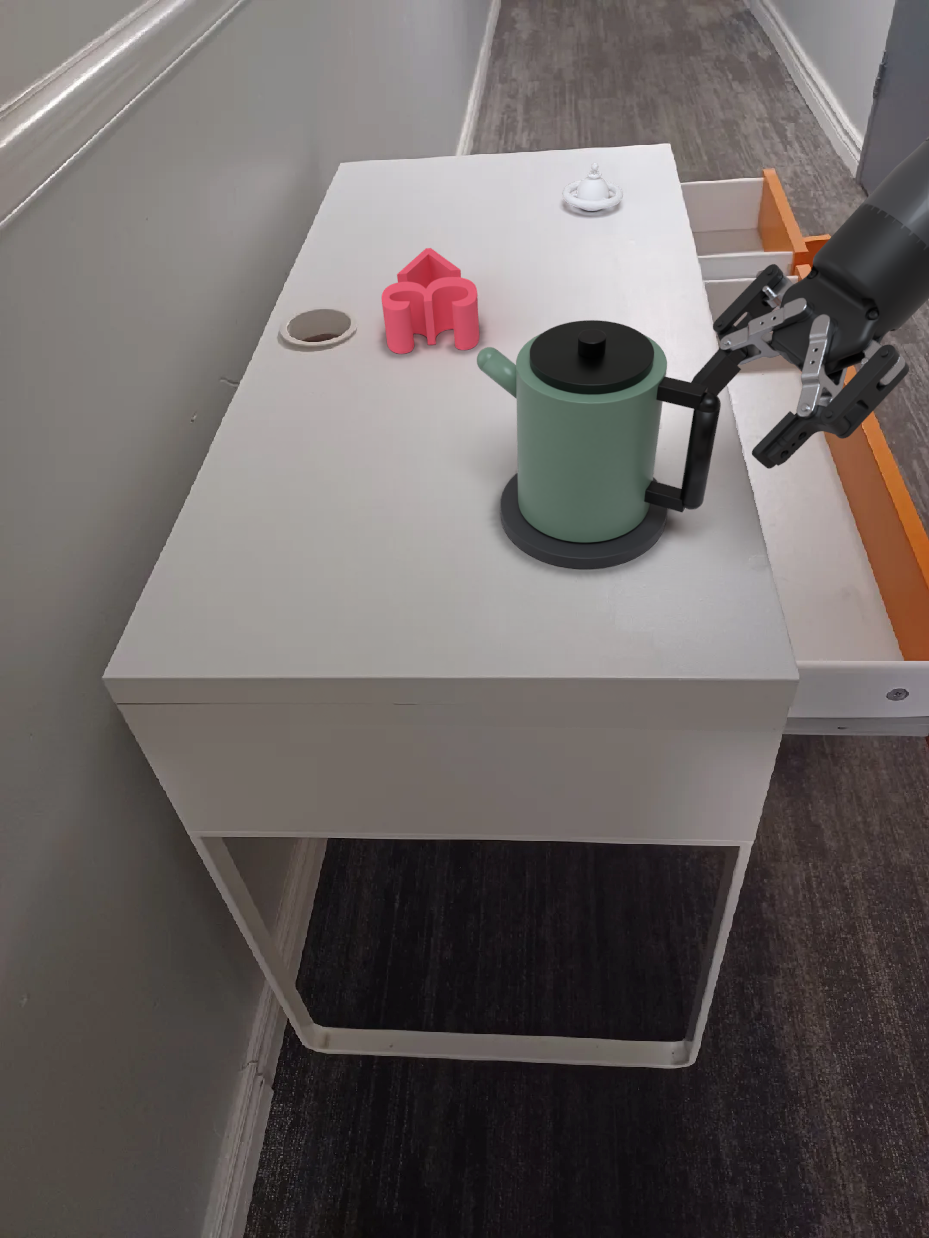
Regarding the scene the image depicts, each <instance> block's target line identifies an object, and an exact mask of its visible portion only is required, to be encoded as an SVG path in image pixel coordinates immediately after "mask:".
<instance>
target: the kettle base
mask: <svg viewBox="0 0 929 1238" xmlns="http://www.w3.org/2000/svg"><path fill="white" fill-rule="evenodd" d="M653 481H656V482H658V481H657V479H656V478H655V477H654V476H653ZM499 507H500V521H501V524H502V528H503V530H504V532H505V533H506V535H507V536H508V538H509V540H510V541H511V542H512V543H513V544H514V546H516V547H517V548H519V550H521V551H522V552H524V553H525V554H526V555H529V556H531V557H532V558H534V559H536V560H539V561H541V562H543V563H546V564H550V565H553V566H556V567H561V568H568V569H577V570H593V569H605V568H611V567H614V566H617V565H621V564H625V563H627V562H629V561H632V560H634V559H636V558H638V557H639V556H641V555H643V554H645V553H646V552H648V550H650V549H652V547H653V546H654V545H655V544H656V543H657V542H658V540H659V539H660V538H661V536H662V534H663V532H664V530H665V527H666V523H667V517H668V508H664V507H661V506H657V505H654V504H650V506H649V509H648V512H647V514H646V516H645V518H644V519H643V520H642V522H641V523H640V524H639V525H638V526H637V527H635V528H634V529H632V530H631V531H629V532H628V533H626V534H624V535H621V536H619V537H617V538H613V539H610V540H605V541H600V542H571V541H565V540H561V539H557V538H554V537H551V536H549V535H546V534H544V533H542V532H541V531H539V530H537V529H536V528H534V527H533V526H532V525H531V524H530V523H529V522H528V521H527V520H526V519H525V518H524V516H523V515H522V513H521V511H520V508H519V504H518V471H517V472H516V473H515V474H514V475H513V476H512V477H511V478H509V481H508V482H506V484H505V486H504V489H503V491H502V493H501V497H500V506H499Z"/></svg>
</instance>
